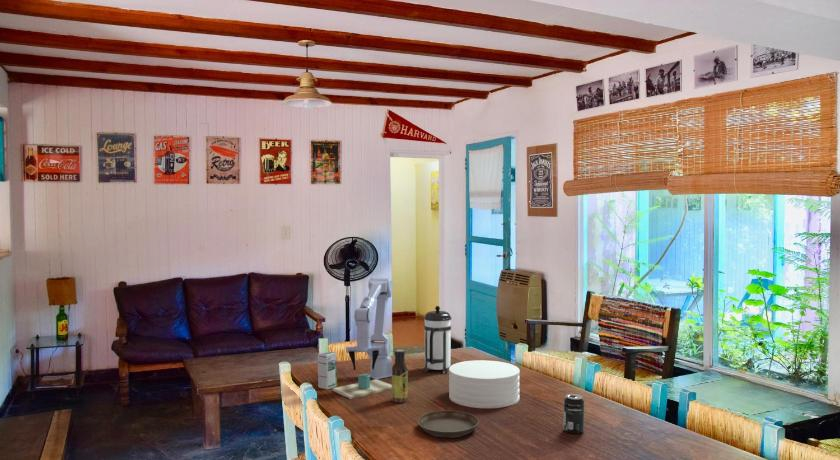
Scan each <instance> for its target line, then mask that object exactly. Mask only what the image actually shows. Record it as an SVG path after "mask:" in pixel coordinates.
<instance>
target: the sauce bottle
mask: <svg viewBox="0 0 840 460" xmlns="http://www.w3.org/2000/svg"><path fill="white" fill-rule="evenodd" d="M405 354H406V351H405V349H395V350H394V362H393V363H394V364H392V376H391V385H392V390H391V401H392V402H394V403H406V402H408V394H409V393H408V390H409V389H408V388H409V386H408V385H409V381H408V379H409V378H408V376H409V373H408V372H409V371H408V368H407V364H406V360H405Z"/></svg>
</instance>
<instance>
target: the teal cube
mask: <svg viewBox="0 0 840 460" xmlns="http://www.w3.org/2000/svg"><path fill="white" fill-rule="evenodd" d="M369 374H370V373H362V374H361V373H360V374H358V375H357V379H358V380H357V383H358V388H359V389H368V388H370V380H371V377H370V375H369Z"/></svg>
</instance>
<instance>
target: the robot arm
mask: <svg viewBox="0 0 840 460" xmlns="http://www.w3.org/2000/svg"><path fill="white" fill-rule="evenodd" d="M367 287H368V290H369V291H368V294H367V296H365V297H364V298H363V300H362V301H361V304H360V306H359V307H358V308H355V310H354V316H353V317H354V322H355V327H356V346H346V347H345V352H346V353H347V354H348V356H349V358H350V360H351V362H352V366H353V371H356V353H366V354H367V355H368V357H369V358H370V364H369V365H370V366H369V367H370V368H369V370H370V373H368V374H369V375H370V379H373V380H375V379H378V380H380V379H385V378H390V377H392V367H393V360H392V357H391V356H390V353H391V340H390V337H388V336H387V335H386V332H385V331H386V321H387V309H388V301H389V300H388V299H390V298H392V293H393V280H392V279H391V278H390V277H389V278H386V277H385V278H383V277H370V278H369V280H368V285H367ZM375 308H376V309H375ZM374 309H375V319H374V330H373V331H374V332H373V334H372V335H371V323H372V320H373V316H374ZM346 353H345V354H346Z"/></svg>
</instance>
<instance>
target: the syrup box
mask: <svg viewBox="0 0 840 460" xmlns="http://www.w3.org/2000/svg"><path fill="white" fill-rule="evenodd" d="M337 362H338V361H337V353H336V352H334V351H329V350H328V351H324V352H320V353H317V382H318V383H317V384H318V385H317V386H318V388H319V389H324V390H330V389H333V388H336V387H338V369H337V367H338V366H337Z"/></svg>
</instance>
